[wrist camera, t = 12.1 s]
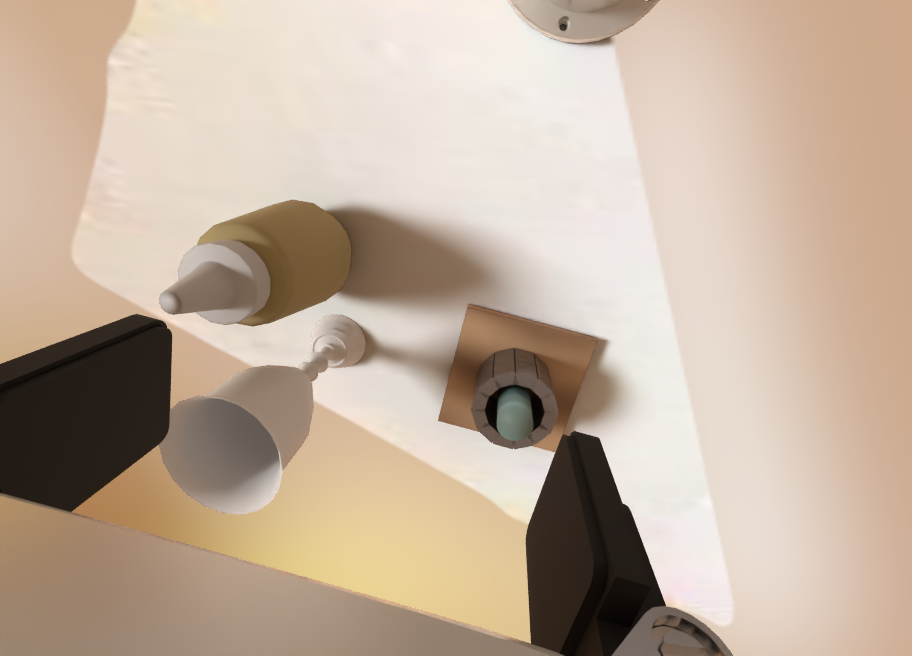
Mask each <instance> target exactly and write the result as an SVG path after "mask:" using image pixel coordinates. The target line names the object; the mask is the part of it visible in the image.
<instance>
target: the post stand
mask: <svg viewBox="0 0 912 656" xmlns="http://www.w3.org/2000/svg"><path fill="white" fill-rule="evenodd" d="M596 343H597V341H596V339H595V338H594V337H592V336H588V335H584V334H580V333H576V332H573V331H569V330H565V329H561V328H557V327H554V326H550V325H546V324H542V323H538V322H535V321H531V320H527V319H523V318H519V317H516V316H512V315H508V314H504V313H500V312H497V311H493V310H489V309H485V308H481V307H478V306H474V305H470V304H468V307H467V311H466V315H465V319H464V323H463V327H462V330H461V334H460V338H459V342H458V346H457V350H456V353H455V357H454V361H453V365H452V369H451V373H450V376H449V380H448V384H447V388H446V392H445V396H444V399H443V403H442V407H441V411H440V415H439V419H438V421H441V422H445V423H448V424H452V425H456V426H460V427H463V428H467V429H471V430H474V431H478V430H477V428H476V425H475V422H474V418H473V415H472V412H471V407H472V400H473V394H474V387H475V381H476V378H477V374H478V371H479V367H480V366H481V364H482V363H483V362H484V361H485V360H486V359H487V358H488V357H489V356H491V355H492V354H493V353H495V352H496V351H501V350H505V349H510V348H514V349H515V348H518V349H522V350H526V351H529V352H533V353H535V354H536V355H537V356H538V357H539V358H540V359H541V360H542V361H543V362H544V363H545V364H546V365H547V366H548V368H549V372H550V376H551V381H552V385H553V389H554V394H555V398H556V403H557V407H558V413H559V414H558V417H557V419H556V422H555V425H554V427H553V430H552V431H551V433H550V434H549V435H548V436H546V437H545V438H544V439H542V440H541V441H540V442H539V443H537V444H536V445H535V444H534V447H538V448H541V449H545V450H549V451H552V452H556V450H557V447H558V444H559V442H560V439H561V437H562V434H563V432H564V429H565V426H566V424H567V421H568V418H569V416H570V413H571V410H572V408H573V405H574V402H575V400H576V397H577V394H578V391H579V389H580V386H581V383H582V381H583V378H584V375H585V373H586V370H587V367H588V365H589V362H590V359H591V357H592V354H593V351H594V349H595V346H596ZM536 395H537V394H536V393H535V392H534V391H533V390H532V389H530V388H527V387H523V386H519V385H516V384H514V385H509V386H505V387H500V388H499V389H497V390H496V391H495V392H494V393H493V394H492V396H493V397H494V398H495V399H496V400H497V401H498V406H497V429H498V431H499V433H500V434H501V435H502V436H503V437H504V438H506V439H508V440H511V441H520V440H523V439H525V438H527V437H528V436H529V435H530V434H531V432H532V430H533V418H532V408H531V400H532V399H533V398H534V397H535V396H536ZM478 432H479V431H478Z"/></svg>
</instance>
